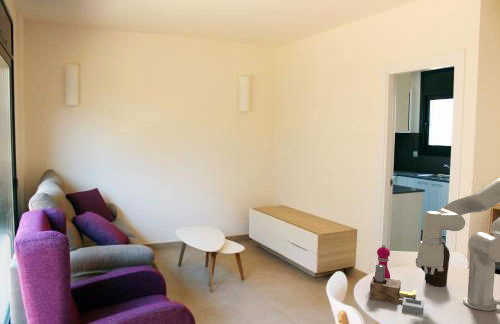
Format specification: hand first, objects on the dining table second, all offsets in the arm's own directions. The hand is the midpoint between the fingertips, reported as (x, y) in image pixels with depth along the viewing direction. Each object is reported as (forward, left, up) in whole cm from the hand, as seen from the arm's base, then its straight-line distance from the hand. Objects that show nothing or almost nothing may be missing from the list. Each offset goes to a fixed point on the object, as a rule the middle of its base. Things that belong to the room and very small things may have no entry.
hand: (428, 282), depth 173 cm
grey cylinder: (+20, 0, -10) cm, 22 cm away
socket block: (+17, 0, -10) cm, 20 cm away
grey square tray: (+5, +7, -10) cm, 13 cm away
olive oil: (-4, -29, -10) cm, 31 cm away
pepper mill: (+20, -15, -10) cm, 27 cm away
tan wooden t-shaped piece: (+8, 0, -10) cm, 13 cm away
